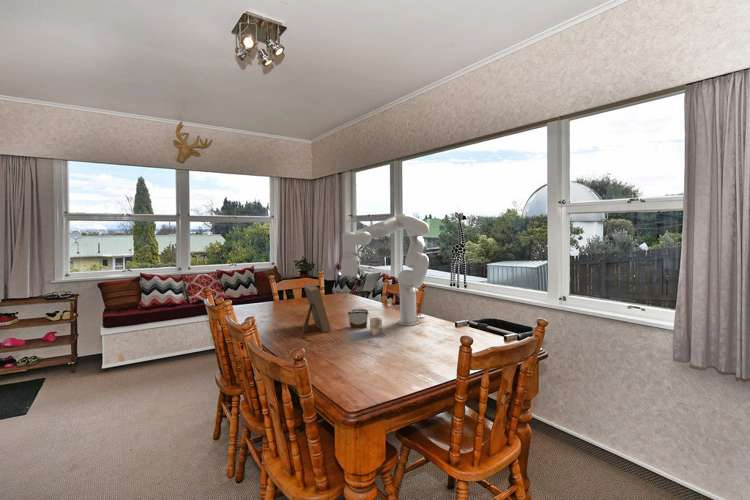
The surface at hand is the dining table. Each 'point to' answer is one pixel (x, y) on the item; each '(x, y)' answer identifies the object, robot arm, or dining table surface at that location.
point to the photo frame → (316, 308)
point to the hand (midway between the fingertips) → (351, 286)
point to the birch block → (375, 326)
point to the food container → (358, 318)
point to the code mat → (363, 335)
